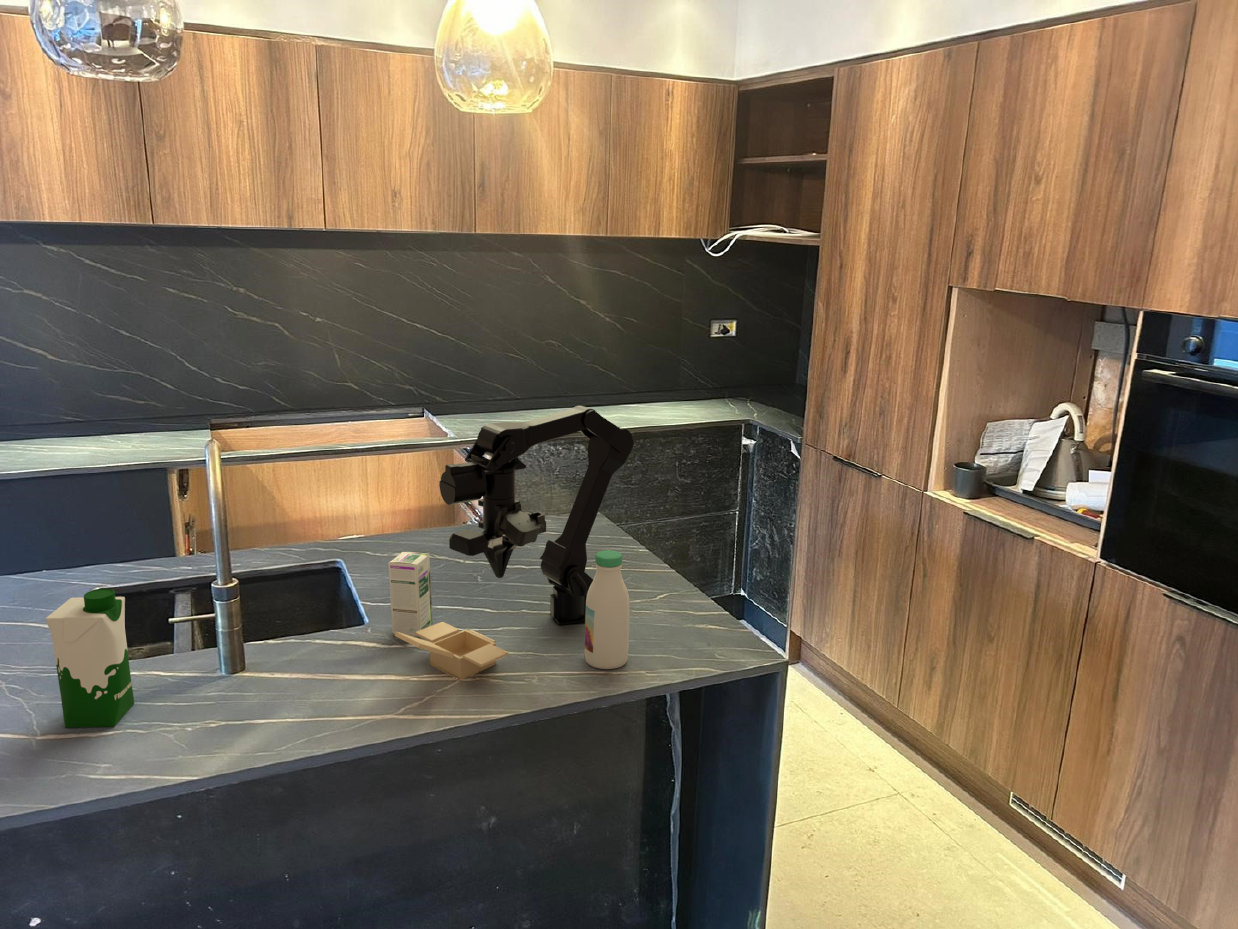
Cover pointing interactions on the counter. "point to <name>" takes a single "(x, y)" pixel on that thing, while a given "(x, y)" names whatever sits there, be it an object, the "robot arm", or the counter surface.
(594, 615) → the milk bottle
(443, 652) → the back flap
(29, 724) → the counter surface
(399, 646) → the counter surface
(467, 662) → the carton
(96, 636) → the milk carton
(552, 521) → the counter surface
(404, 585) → the syrup box
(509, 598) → the counter surface
